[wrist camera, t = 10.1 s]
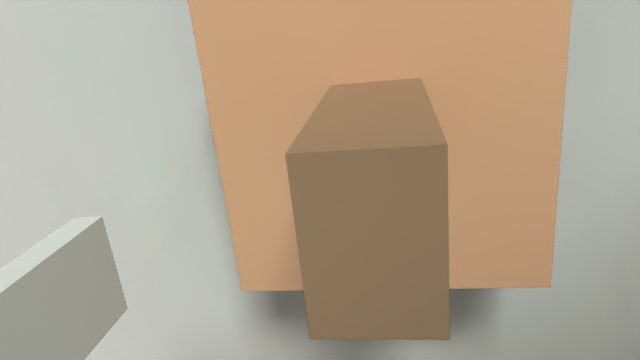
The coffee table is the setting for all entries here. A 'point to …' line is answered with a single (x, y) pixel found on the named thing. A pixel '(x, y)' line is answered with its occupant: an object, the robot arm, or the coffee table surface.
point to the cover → (386, 151)
